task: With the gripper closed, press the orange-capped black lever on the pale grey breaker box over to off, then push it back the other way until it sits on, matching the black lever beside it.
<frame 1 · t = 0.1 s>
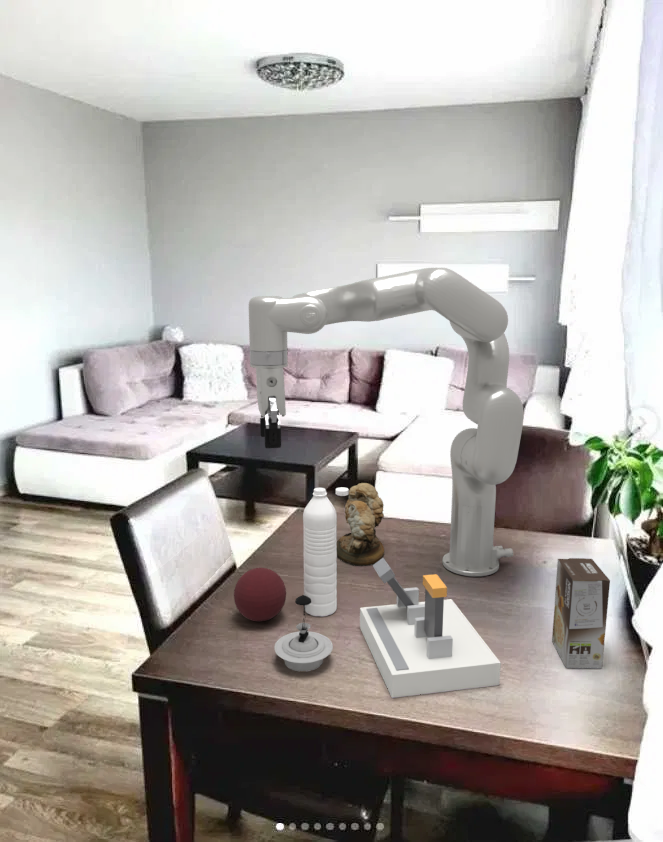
hand: (270, 441, 138), 31 cm above the table, tool pointing down, fingers open, 9 cm apart
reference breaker: (398, 589, 122), point 9 cm above the table, hinge at 35.0°
gray round rimmed fixture: (303, 661, 116), on the table
decorative ball: (260, 619, 130), on the table
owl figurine: (359, 551, 162), on the table
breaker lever: (433, 612, 112), point 10 cm above the table, hinge at 0.0°
breaker box: (424, 653, 118), on the table
water bottle: (326, 610, 133), on the table
coffee box: (575, 655, 118), on the table
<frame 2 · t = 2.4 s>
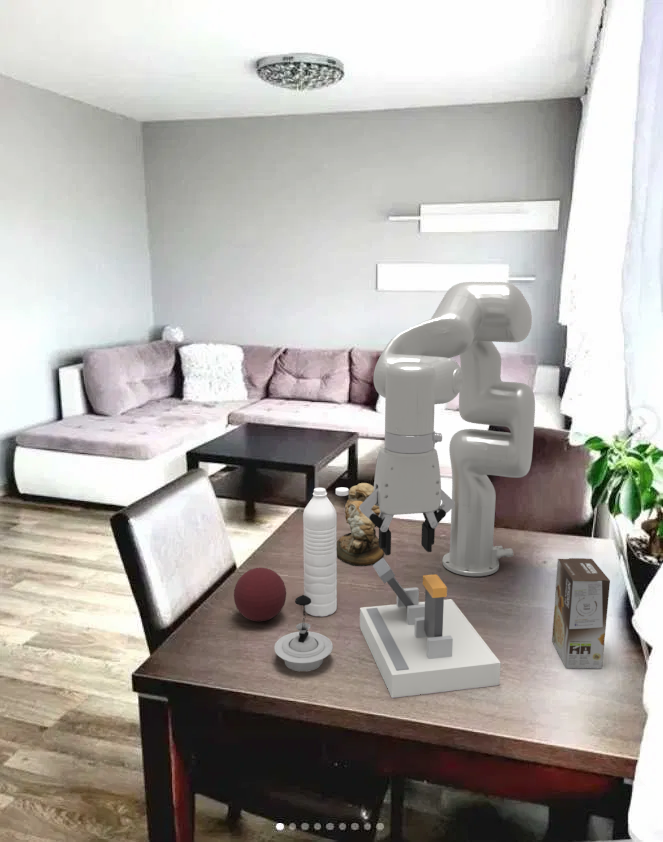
hand: (406, 549, 108), 22 cm above the table, tool pointing down, fingers open, 6 cm apart
nothing on the table moved.
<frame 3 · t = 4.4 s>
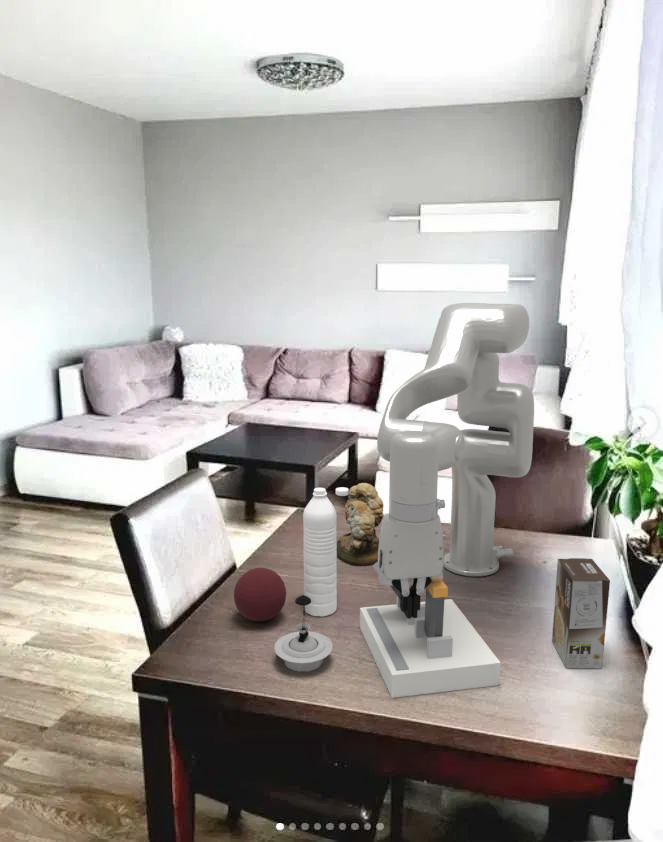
hand: (409, 614, 111), 10 cm above the table, tool pointing down, fingers closed
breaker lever: (434, 612, 112), point 10 cm above the table, hinge at -0.8°, touching gripper
everything else where it was.
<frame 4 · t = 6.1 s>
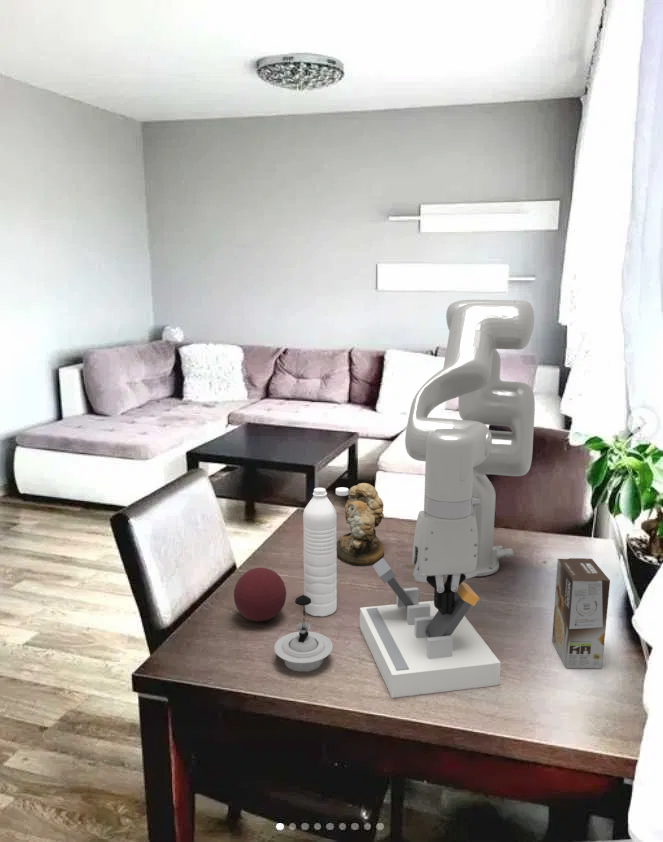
hand: (443, 610, 112), 10 cm above the table, tool pointing down, fingers closed
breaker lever: (449, 615, 112), point 9 cm above the table, hinge at -33.4°, touching gripper
everything else where it was.
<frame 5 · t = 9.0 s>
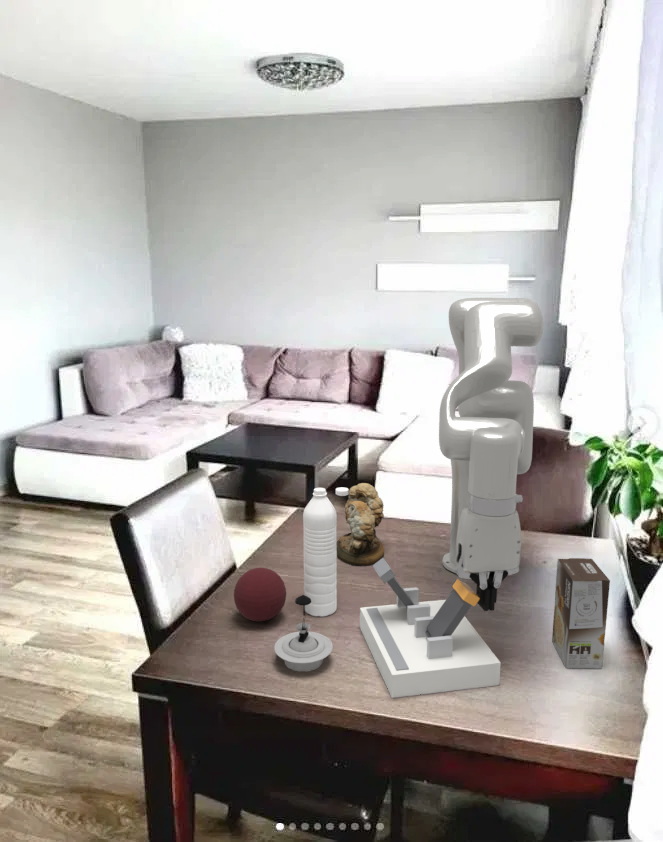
hand: (485, 606, 113), 10 cm above the table, tool pointing down, fingers closed
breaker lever: (449, 615, 112), point 9 cm above the table, hinge at -34.1°, touching gripper
everything else where it was.
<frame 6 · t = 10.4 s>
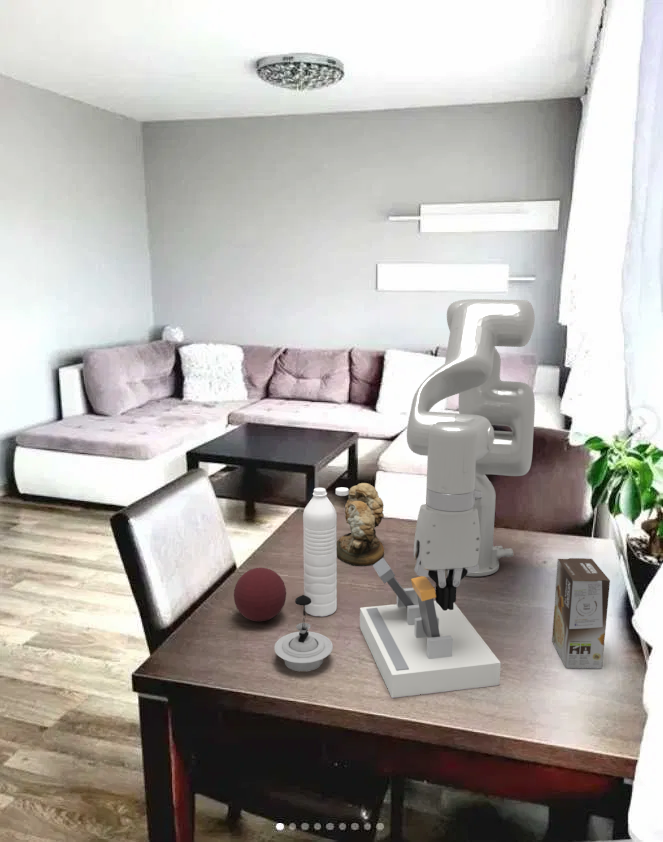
hand: (445, 606, 111), 12 cm above the table, tool pointing down, fingers closed
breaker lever: (427, 613, 112), point 10 cm above the table, hinge at 11.4°, touching gripper
everything else where it was.
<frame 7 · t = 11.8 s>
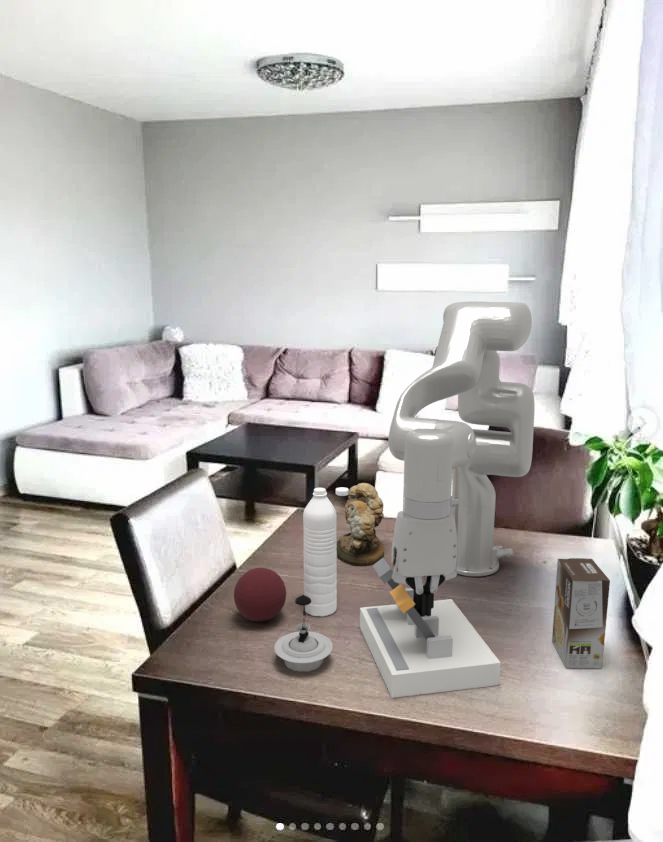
hand: (423, 612, 111), 10 cm above the table, tool pointing down, fingers closed
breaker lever: (417, 618, 111), point 9 cm above the table, hinge at 34.0°, touching gripper
everything else where it was.
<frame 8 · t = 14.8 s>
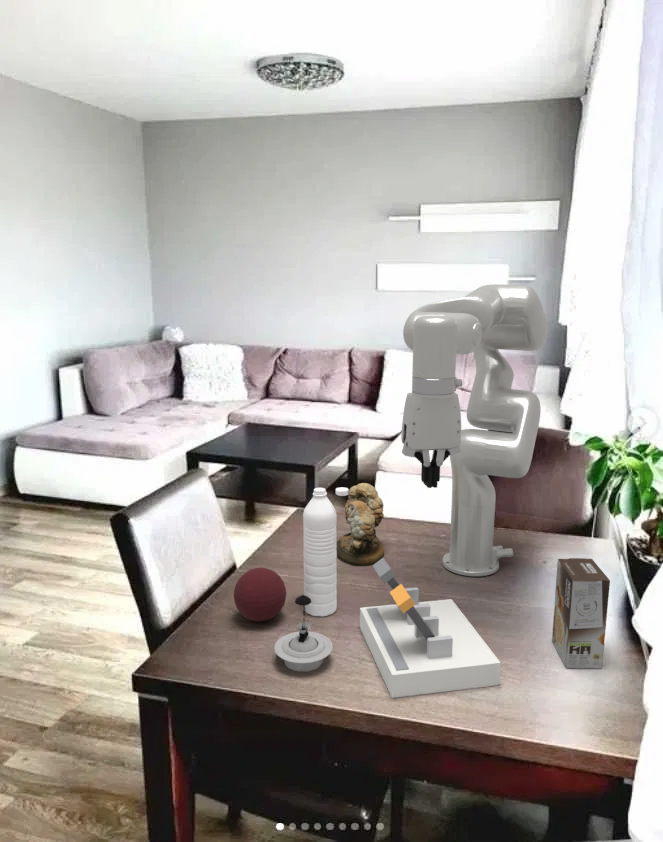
hand: (430, 485, 123), 27 cm above the table, tool pointing down, fingers closed
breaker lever: (417, 618, 111), point 9 cm above the table, hinge at 34.0°
everything else where it was.
at the end: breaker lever at +34° (first picture: +0°); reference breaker at +35° (first picture: +35°) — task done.
